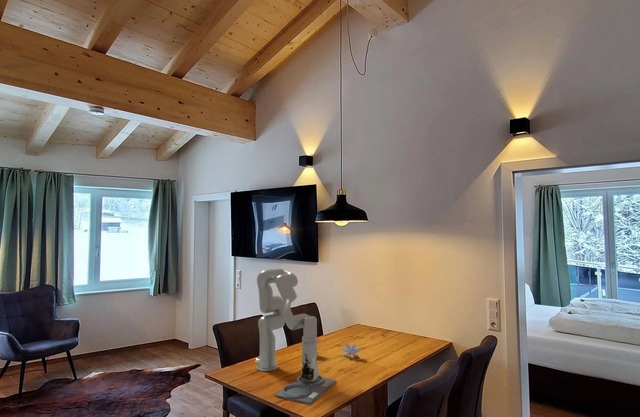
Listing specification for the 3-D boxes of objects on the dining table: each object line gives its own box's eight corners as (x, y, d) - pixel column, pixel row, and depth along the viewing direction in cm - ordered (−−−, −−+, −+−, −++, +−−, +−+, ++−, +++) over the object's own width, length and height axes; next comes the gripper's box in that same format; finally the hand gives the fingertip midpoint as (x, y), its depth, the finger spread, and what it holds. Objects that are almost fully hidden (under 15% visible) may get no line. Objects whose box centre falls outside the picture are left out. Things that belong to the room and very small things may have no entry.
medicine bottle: (301, 379, 204) (301, 357, 204) (306, 375, 210) (306, 353, 211) (313, 381, 201) (313, 358, 202) (318, 376, 208) (318, 354, 208)
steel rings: (277, 394, 189) (277, 391, 189) (305, 375, 215) (305, 372, 215) (301, 400, 182) (301, 396, 183) (327, 379, 208) (327, 376, 209)
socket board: (275, 396, 189) (275, 394, 189) (304, 376, 216) (304, 374, 216) (310, 404, 180) (309, 402, 180) (336, 382, 207) (336, 380, 207)
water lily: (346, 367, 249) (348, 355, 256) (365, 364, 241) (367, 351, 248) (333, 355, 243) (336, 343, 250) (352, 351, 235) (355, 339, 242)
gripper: (311, 334, 216) (311, 366, 215) (296, 342, 201) (296, 376, 200) (323, 336, 213) (323, 368, 212) (308, 344, 198) (308, 378, 196)
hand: (310, 371), depth 206 cm, fingers closed on medicine bottle, 7 cm apart
